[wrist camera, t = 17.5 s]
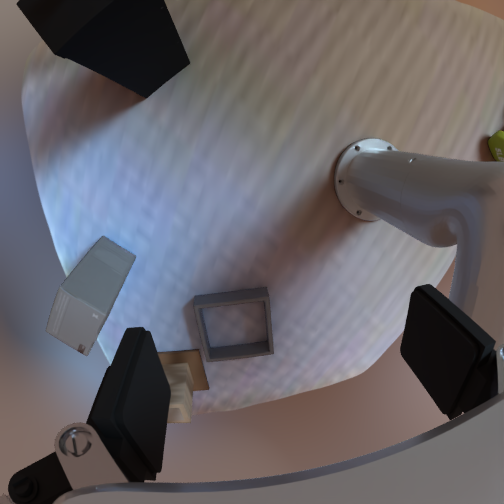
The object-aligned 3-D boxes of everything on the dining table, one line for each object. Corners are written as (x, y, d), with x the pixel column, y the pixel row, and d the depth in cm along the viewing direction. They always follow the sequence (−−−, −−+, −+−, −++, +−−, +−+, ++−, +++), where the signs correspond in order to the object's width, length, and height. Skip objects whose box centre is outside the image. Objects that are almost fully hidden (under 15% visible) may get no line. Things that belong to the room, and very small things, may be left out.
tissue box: (146, 99, 35) (26, 43, 9) (115, 64, 32) (-9, -9, 6) (191, 63, 34) (142, -54, 8) (159, 28, 31) (85, -90, 5)
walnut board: (198, 349, 50) (198, 351, 49) (209, 387, 53) (209, 389, 53) (145, 352, 49) (144, 354, 48) (160, 390, 53) (159, 392, 52)
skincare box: (103, 233, 41) (54, 278, 26) (142, 258, 43) (108, 314, 28) (84, 275, 43) (39, 329, 28) (120, 298, 45) (86, 360, 30)
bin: (266, 287, 46) (269, 296, 44) (271, 343, 50) (273, 354, 48) (194, 295, 46) (193, 305, 43) (207, 350, 50) (206, 362, 47)
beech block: (187, 362, 50) (183, 404, 40) (193, 381, 52) (190, 423, 42) (161, 364, 49) (152, 405, 40) (168, 383, 51) (161, 423, 42)
